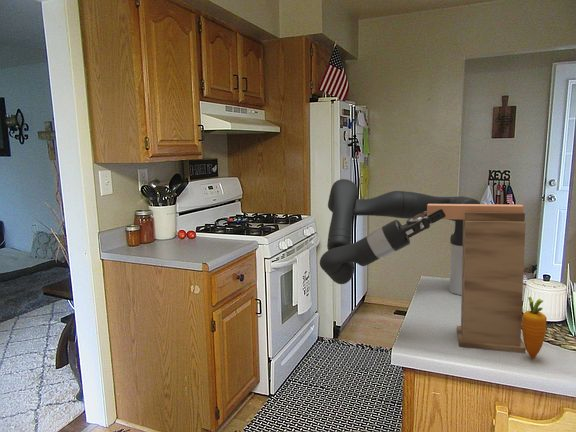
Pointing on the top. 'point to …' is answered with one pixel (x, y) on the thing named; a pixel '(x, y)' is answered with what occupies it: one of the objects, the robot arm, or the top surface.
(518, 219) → the stand
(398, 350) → the top surface
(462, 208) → the bar
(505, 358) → the top surface
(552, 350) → the top surface
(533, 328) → the carrot
